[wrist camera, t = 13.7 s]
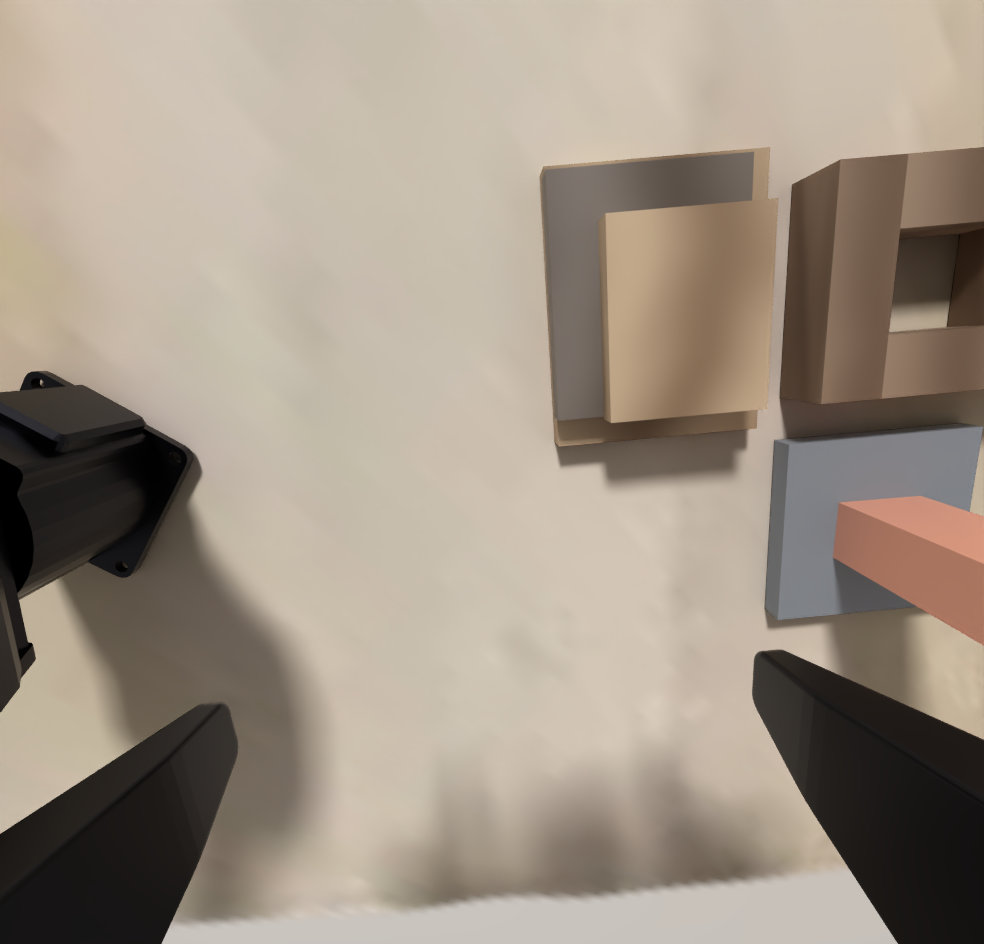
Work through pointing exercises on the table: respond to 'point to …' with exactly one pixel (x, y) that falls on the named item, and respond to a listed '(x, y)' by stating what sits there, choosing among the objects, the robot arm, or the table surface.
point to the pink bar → (919, 555)
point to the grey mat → (853, 477)
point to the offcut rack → (747, 288)
